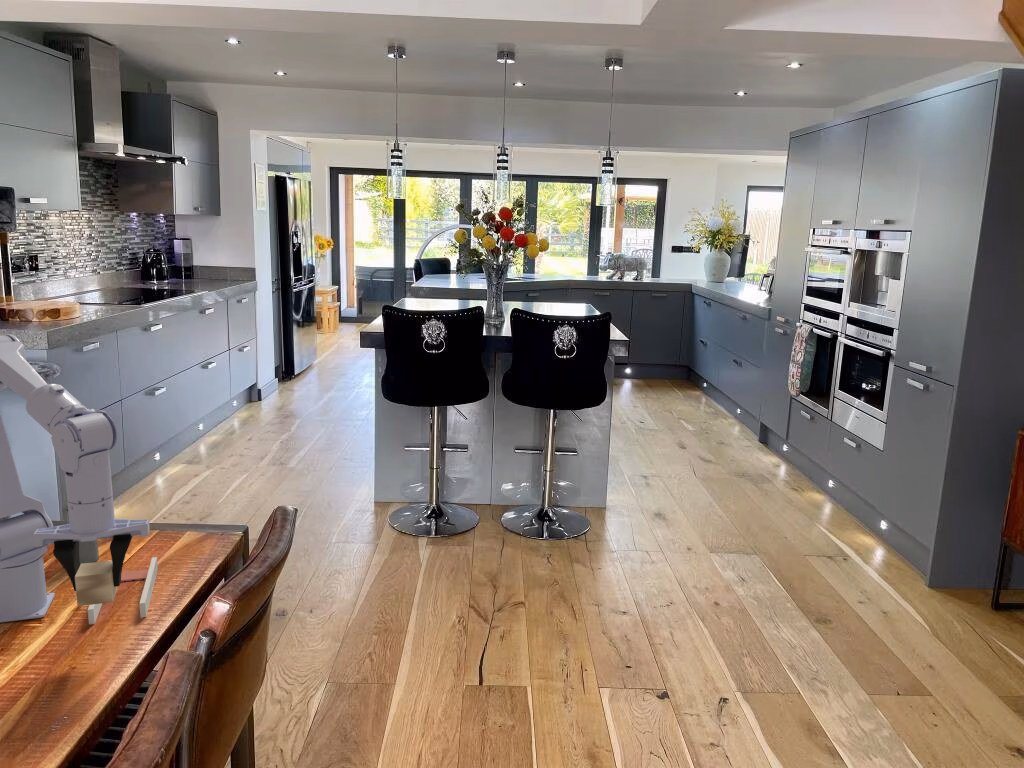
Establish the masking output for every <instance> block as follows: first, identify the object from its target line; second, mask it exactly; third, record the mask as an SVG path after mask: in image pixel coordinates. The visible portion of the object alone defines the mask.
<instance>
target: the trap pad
mask: <svg viewBox="0 0 1024 768" xmlns="http://www.w3.org/2000/svg"><path fill="white" fill-rule="evenodd" d="M148 571H149V568H148V569H139V570H130V571H122V573H121V583H124V581H126V582H133V581H132V580H135V581H140V580H141V581H142V580H143V579H144V580H146V578H147V574H148Z"/></svg>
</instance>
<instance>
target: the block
mask: <svg viewBox="0 0 1024 768" xmlns="http://www.w3.org/2000/svg"><path fill="white" fill-rule="evenodd" d="M75 584H76V591H75V593H76V602H77V603H76V605H77V607H82V606H83V607H84V606H89V605H93V604H101V603H102V604H108V603H114V600H115V597H116V594H117V592H118V588H119V586H116V587H114V583H113V563H112V559H111V560H103V561H95V562H92V563H83V564H81V565H80V567H79V569H78V571H77V573H76V575H75Z"/></svg>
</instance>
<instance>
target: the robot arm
mask: <svg viewBox="0 0 1024 768" xmlns="http://www.w3.org/2000/svg"><path fill="white" fill-rule="evenodd" d="M7 388H9V389H10V390H12V391H13V392H14V393H16V394H17V395H18V396H20V397H21V398H22V399H24V400H25V402H26V403H25V411H26V412H27V414H28V415H29V416H30V417H31V418H32V419H33V420H34V421H36V422H37V423H38V425H40V426H41V427H42V428H43V429H44V430H46V432H47V433H48V434H49V435H50V438H51V443H52V447H53V449H54V451H55V453H56V455H57V457H58V463H59V464H58V465H59V466H60V469H61V470H62V471H64V483H65V491H66V499H67V500H66V502H67V508H68V514H69V524H67V523H66V524H60V525H55V526H54V524H53V522H52V520H51V518H50V517H49V515H48V514H47V512H46V509H45V507H44V504H43V501H41V500H39V499H37V498H34V497H32V496H29V495H26V494H24V491H23V487H22V484H21V480H20V477H19V473H18V469H17V466H16V463H15V458H14V456H13V451H12V448H11V444H10V441H9V438H8V434H7V430H6V426H5V424H4V423H5V422H4V419H3V416H2V412H1V411H0V519H3V520H0V623H7V622H15V621H22V620H25V621H26V620H30V619H31V620H32V619H39V618H43V617H45V616H46V614H47V613H48V610H49V608H50V607H51V604H52V602H53V601H54V599H55V596H56V593H55V592H48V593H47V583H46V573H45V566H44V565H45V564H44V554H47V553H48V548H47V547H49V546H50V545H51V544H53V550H52V554H53V556H54V558H55V559H56V560H57V561H58V562H59V563H60V564H61V567H63V569H64V570H65V572H66V574H67V575H68V578H69V580H70V583H71V585H72V587H73V591H74V592H76V584H75V575H76V573H77V571H78V569H79V567H80V559H79V541H81V542H86V541H94V540H96V539H98V540H103V539H104V540H105V539H111V541H110V544H109V549H110V550H109V551H110V556H111V560H112V563H113V583H114V587H116V586H117V587H119V586H120V585H121V583H122V582H121V573H122V572H123V566H124V562H125V559H126V554H127V551H128V550H129V547H130V545H131V542H132V540H133V539H132V538H133V537H134V536H140V537H142V538H143V537H149V535H150V531H151V529H150V520H149V519H123V518H122V519H120V518H115V507H114V497H113V495H114V494H113V483H112V482H113V481H112V480H113V479H112V471H111V459H110V458H111V456H110V451H111V450H113V449H114V448H115V446H116V444H117V442H118V430H117V426H116V423H115V421H114V419H113V418H112V417H111V416H110V415H109V414H108V412H107V411H105V410H101V409H99V410H95V409H94V408H91V409H89V408H87V407H86V406H85V405H84V404H83V403H81V402H80V400H78V399H77V398H76V397H75V396H73V394H71V393H70V392H69V391H68V390H67V389H66V388H65V387H63V386H62V384H57V383H49V384H48V383H47V382H46V380H44V379H43V377H42V376H41V375H40V374H39V373H38V371H37V370H35V369H34V367H33V366H32V365H31V364H30V363H29V362H28V361H27V353H26V350H25V346H24V343H22V342H21V341H20V340H19V338H17V336H16V335H14V334H11V333H5V334H2V335H0V392H2V391H3V390H5V389H7ZM19 513H22V514H19ZM16 514H19V515H16ZM12 515H13V517H10V516H12ZM14 515H16V516H14ZM6 517H9V518H6ZM4 518H6V519H4Z"/></svg>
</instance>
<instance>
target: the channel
mask: <svg viewBox="0 0 1024 768" xmlns="http://www.w3.org/2000/svg"><path fill="white" fill-rule="evenodd" d="M158 567H159V566H158V556H153V557H151V560H150V563H149V567H148V569H149V571H148V574H147V578H146V579H145V583H144V586H143V589H142V592H141V596H140V601H139V612H140V613H139V614H140V618H141V619H143V617H145V618H147V615H148V611H149V608H150V604H151V599H152V597H153V596H152V595H153V591H154V587H155V584H156V578H157V576H158V571H159V568H158ZM102 605H103V603H101V604H93V605H88V608H87V617H88V619H87V620H88V625H95V624H96V621H97V619H98V616H99V613H100V611H101V609H102Z"/></svg>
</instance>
